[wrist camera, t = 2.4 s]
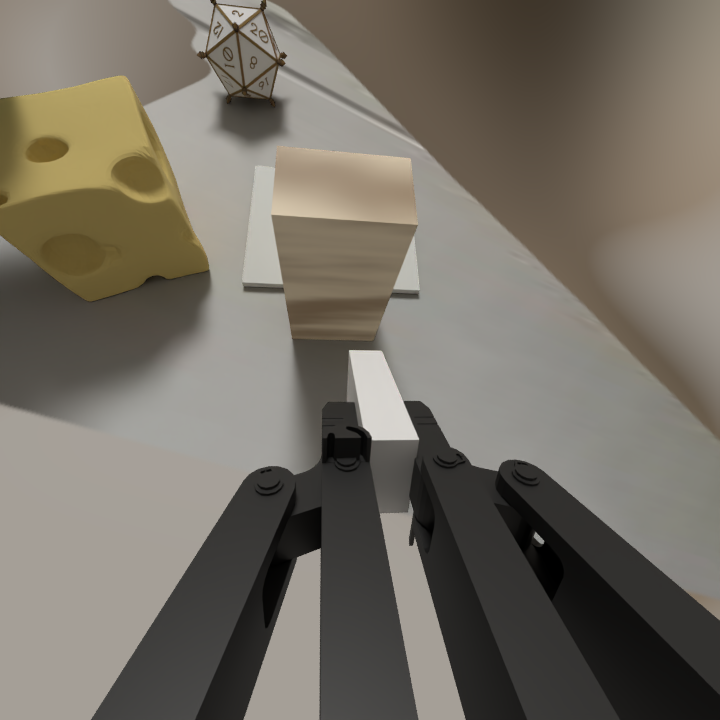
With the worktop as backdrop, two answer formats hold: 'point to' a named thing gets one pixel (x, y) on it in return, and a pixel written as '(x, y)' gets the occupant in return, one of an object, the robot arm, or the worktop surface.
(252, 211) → the rubber mat
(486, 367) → the worktop surface
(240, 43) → the game die
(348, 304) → the maple block
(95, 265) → the cheese
